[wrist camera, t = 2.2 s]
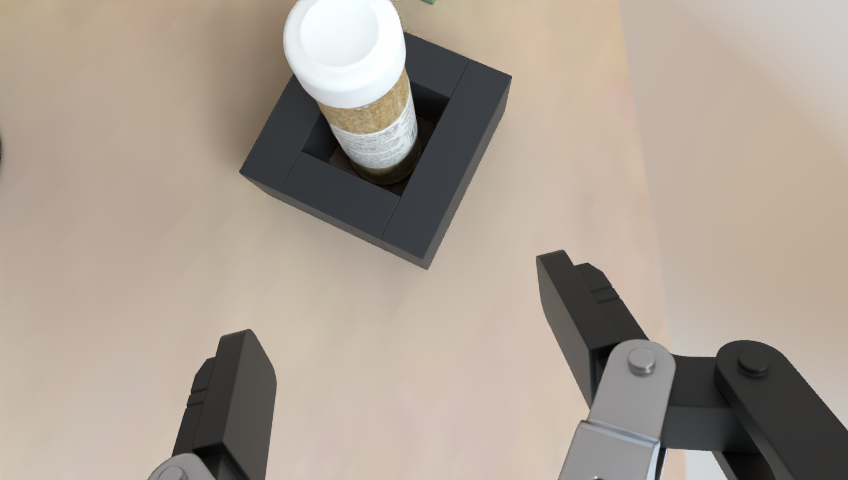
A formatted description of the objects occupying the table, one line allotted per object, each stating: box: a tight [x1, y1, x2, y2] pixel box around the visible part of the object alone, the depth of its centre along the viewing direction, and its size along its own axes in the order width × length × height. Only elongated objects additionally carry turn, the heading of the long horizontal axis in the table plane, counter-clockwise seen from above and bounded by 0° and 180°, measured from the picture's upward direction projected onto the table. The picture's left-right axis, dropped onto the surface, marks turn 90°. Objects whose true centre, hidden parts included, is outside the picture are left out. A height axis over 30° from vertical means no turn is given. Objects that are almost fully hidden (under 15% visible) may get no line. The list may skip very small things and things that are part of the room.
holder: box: [239, 31, 512, 270], centre depth 31 cm, size 11×11×4 cm
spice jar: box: [283, 0, 422, 185], centre depth 26 cm, size 5×5×14 cm
